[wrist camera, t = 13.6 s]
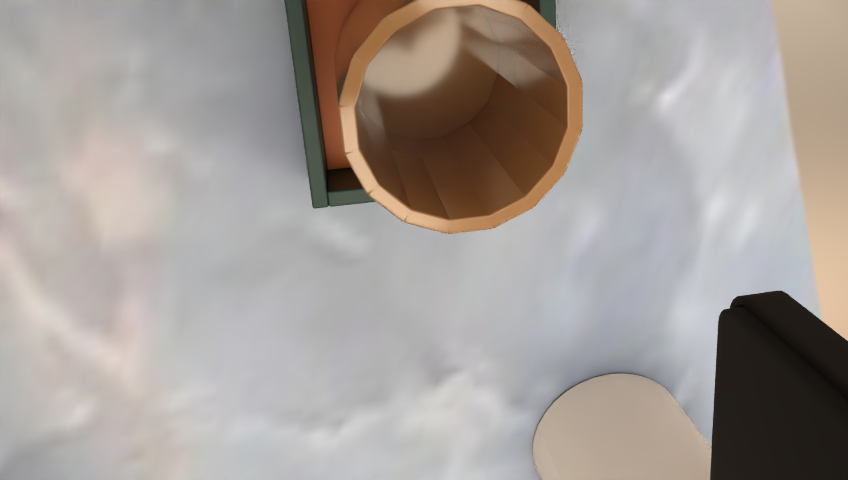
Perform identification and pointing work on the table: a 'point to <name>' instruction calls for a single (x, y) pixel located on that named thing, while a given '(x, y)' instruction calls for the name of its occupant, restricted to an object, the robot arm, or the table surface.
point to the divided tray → (332, 95)
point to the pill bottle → (619, 434)
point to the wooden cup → (456, 108)
